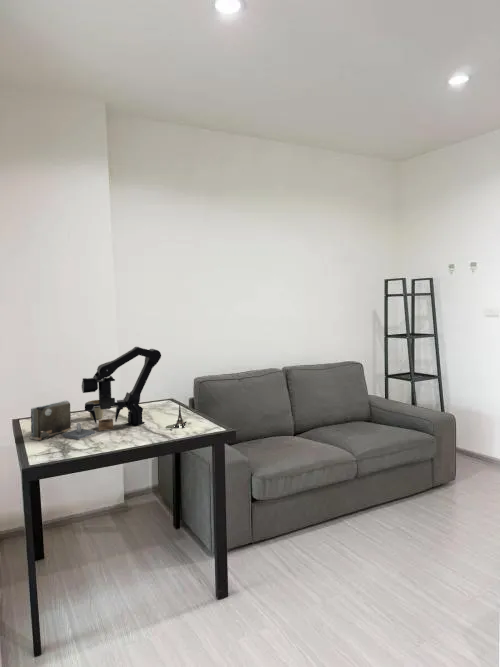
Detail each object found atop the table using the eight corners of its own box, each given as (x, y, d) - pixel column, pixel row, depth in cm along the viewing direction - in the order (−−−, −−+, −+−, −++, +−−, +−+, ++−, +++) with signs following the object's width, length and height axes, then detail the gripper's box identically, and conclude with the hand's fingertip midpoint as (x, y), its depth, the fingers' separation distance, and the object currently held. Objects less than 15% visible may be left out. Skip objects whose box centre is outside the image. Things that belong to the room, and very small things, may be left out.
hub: (95, 433, 221) (94, 422, 221) (78, 439, 213) (78, 428, 212) (79, 430, 226) (79, 420, 226) (62, 436, 217) (62, 425, 217)
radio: (66, 426, 235) (65, 396, 233) (79, 428, 231) (78, 397, 230) (25, 439, 214) (24, 406, 212) (39, 441, 210) (38, 408, 209)
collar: (112, 425, 235) (112, 418, 234) (113, 429, 228) (113, 422, 228) (98, 426, 232) (98, 419, 232) (98, 430, 226) (98, 423, 226)
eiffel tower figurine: (186, 422, 242) (186, 396, 241) (198, 426, 234) (198, 399, 233) (161, 428, 232) (160, 401, 230) (172, 432, 224) (172, 404, 223)
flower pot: (102, 420, 244) (102, 403, 244) (84, 420, 245) (84, 403, 244) (108, 415, 254) (108, 399, 253) (91, 415, 254) (90, 399, 253)
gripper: (83, 395, 218) (85, 428, 220) (125, 392, 224) (126, 425, 225) (84, 390, 229) (85, 422, 230) (124, 388, 235) (125, 419, 236)
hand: (106, 422), depth 230 cm, fingers open, 9 cm apart
